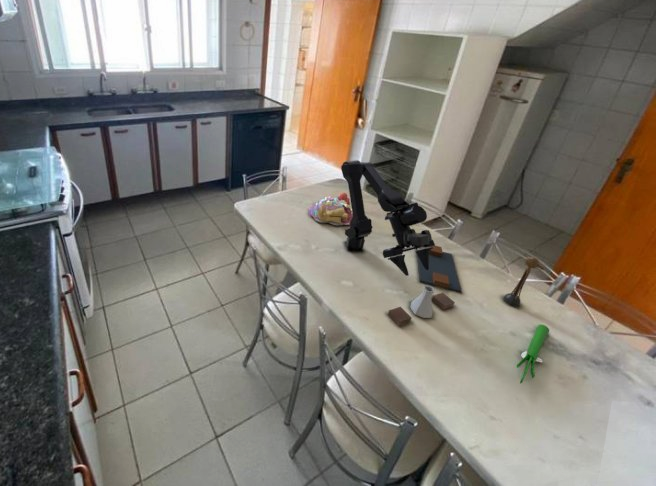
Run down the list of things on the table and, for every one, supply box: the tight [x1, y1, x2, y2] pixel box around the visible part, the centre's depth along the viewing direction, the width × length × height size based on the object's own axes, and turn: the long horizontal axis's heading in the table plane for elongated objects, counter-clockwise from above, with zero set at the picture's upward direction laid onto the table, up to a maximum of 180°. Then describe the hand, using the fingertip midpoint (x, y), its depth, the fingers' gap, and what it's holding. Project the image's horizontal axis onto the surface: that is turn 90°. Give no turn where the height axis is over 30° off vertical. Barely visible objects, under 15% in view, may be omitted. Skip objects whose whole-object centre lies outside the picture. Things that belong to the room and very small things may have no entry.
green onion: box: [516, 323, 550, 384], centre depth 98 cm, size 5×3×30 cm
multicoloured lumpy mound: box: [308, 191, 353, 226], centre depth 167 cm, size 25×24×9 cm
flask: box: [410, 284, 435, 319], centre depth 111 cm, size 7×7×10 cm
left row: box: [387, 292, 455, 327], centre depth 113 cm, size 5×25×2 cm, turn 112°
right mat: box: [416, 244, 462, 293], centre depth 133 cm, size 14×25×3 cm, turn 159°
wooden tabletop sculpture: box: [503, 256, 546, 308], centre depth 114 cm, size 6×5×20 cm
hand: (417, 272), depth 112 cm, fingers open, 9 cm apart
